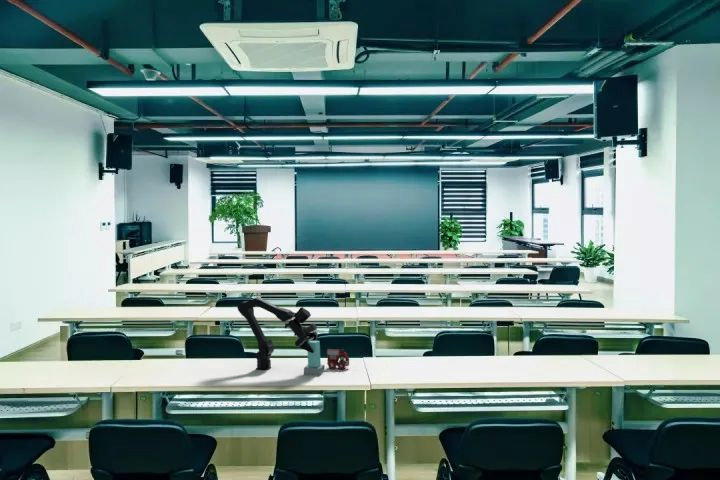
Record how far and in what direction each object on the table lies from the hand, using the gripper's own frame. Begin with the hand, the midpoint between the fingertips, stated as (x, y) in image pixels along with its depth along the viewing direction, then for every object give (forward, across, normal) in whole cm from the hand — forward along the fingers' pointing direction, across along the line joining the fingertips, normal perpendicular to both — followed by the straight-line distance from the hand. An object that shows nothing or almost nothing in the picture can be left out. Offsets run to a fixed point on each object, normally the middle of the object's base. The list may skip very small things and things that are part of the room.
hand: (316, 351), depth 331 cm
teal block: (+5, 0, +7) cm, 8 cm away
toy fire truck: (+13, +15, +4) cm, 20 cm away
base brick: (+8, 0, +10) cm, 12 cm away
